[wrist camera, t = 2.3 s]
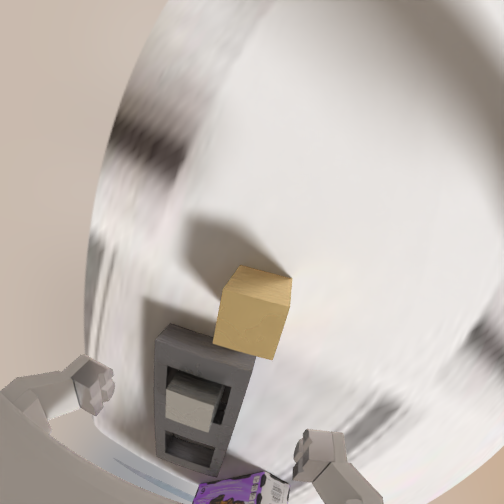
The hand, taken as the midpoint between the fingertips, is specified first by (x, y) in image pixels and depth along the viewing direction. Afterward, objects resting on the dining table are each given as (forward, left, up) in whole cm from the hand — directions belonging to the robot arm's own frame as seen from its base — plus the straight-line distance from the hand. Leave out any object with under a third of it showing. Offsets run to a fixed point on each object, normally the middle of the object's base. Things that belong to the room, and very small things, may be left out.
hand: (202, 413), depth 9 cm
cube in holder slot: (+2, +10, -12) cm, 16 cm away
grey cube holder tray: (+2, +15, -12) cm, 19 cm away
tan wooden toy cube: (-1, 0, -12) cm, 12 cm away
